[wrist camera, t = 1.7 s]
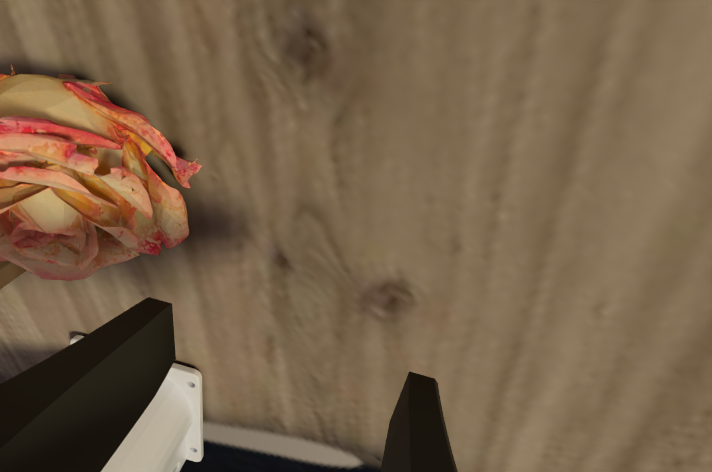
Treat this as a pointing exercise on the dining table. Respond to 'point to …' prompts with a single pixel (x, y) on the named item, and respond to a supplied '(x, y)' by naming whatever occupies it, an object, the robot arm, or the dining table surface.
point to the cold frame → (9, 272)
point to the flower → (81, 179)
